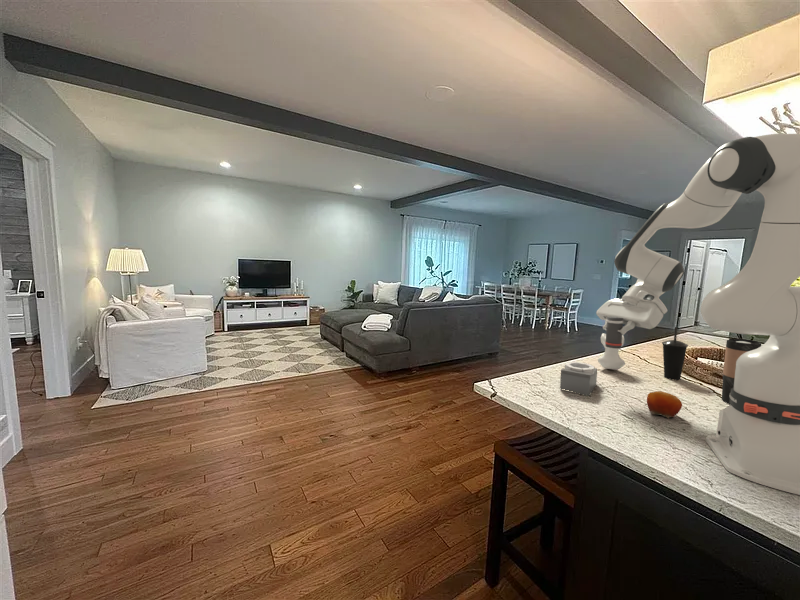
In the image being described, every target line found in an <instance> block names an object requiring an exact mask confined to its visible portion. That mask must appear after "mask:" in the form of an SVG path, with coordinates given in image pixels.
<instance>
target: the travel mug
mask: <svg viewBox="0 0 800 600" xmlns="http://www.w3.org/2000/svg"><path fill="white" fill-rule="evenodd" d="M761 346H762V342H761V341H757V340H752V339H745V338H728V339H726V344H725V353H724V361H723V371H722V386H721V400H723V401H722V402H724V403H726V402H727V403H726V404H728V403H729V401H730V397H729V395H730V393H731V389H732V388H734V379H735V369H736V361H737V359H738V358H739V357H740V356H741V355H742V354H744V353H746V352H748V351H751V350H754V349H757V348H759V347H761Z"/></svg>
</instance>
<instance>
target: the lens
mask: <svg viewBox="0 0 800 600" xmlns="http://www.w3.org/2000/svg"><path fill="white" fill-rule="evenodd" d="M623 325H624V324H623V318H619V317H607V329H606V330H605V331H606V332H605V334H606V341H605V344H606V347H609V348H620V349H622V346H621V345H622V335H623V334H619V332H618V329H619V328H620V327H624V326H623Z"/></svg>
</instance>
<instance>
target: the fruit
mask: <svg viewBox="0 0 800 600" xmlns="http://www.w3.org/2000/svg"><path fill="white" fill-rule="evenodd" d="M646 406H647V407H648V411H649V412H650V413H651V414H652V416H655V415H658V416H659V415H660V416H663V417H665V418H667V419H668V420H670V418H674V417H675V416H677V415H678V413H679V412H680V411H681V410H682V408H683V404H682V401H681V399H680V398H679V397H677V396H676V395H674V394H671V393H669V392H665V391H662V390H657V391H652V392H649V393H648V394H647V396H646Z"/></svg>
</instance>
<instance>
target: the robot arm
mask: <svg viewBox="0 0 800 600" xmlns="http://www.w3.org/2000/svg"><path fill="white" fill-rule="evenodd" d="M754 191H755V192H756V191H757V192H758V193H760V194H761V195H762V196H763V198H764V206H763V207H764V208H763V212H762V215H761V218H760V223H759V228H758V232H757V236H756V239H755V242H754V245H753V248H752V252H751V255H750V257H749V259H748V261H746V264H745V265H744V266H743V267H742V269H741V270H740V271H739V272H738V273H737V274H736V275H734V276H733V277H732V279H730V280H729V281H727V282H726V283H724V284H723V285H720V286H718V287H717V288H714V289H712V290H710V291H709V292H708V293H707V294H706V295H705V297H703V300H702V302H701V305H700V314H701V316H702V318H703V320H704V322H705V324H707V325H708V326H709V327H710V328H711V329H714V330H718V331H723V332H727V333H733V334H738V335H754V336H756V335H757V336H769V338H768V339H767V340H766V342H764V343H763V344H761V347H759V348H757V349H754V350H751V351H748V352H746V353H744V354H742V355H741V356H740V357H739V358H738V359H737V361H736V369H735V379H734V388H732V389H731V393H730V395H729V397H730V401H729V403H730V404H728V406H727V407H725V408H723V409H721V410H719V414H718V419H717V420H718V421H717V429H716V434H715V435H707V436H706V437H705V442H706V443H707V445H708V446H709V447H710V449H711V451H713V453H714V454H715V456H716V457H717V459H718V460H719V461H720V463H721V464H722V465H723V467H724V468H725V470H726V471H727V472H729V473H731V474H733V475H735V476H738V477H741V478H743V479H745V480H748V481H751V482H753V483H757V484H760V485H762V486H764V487H765V486H766V487H769V488H772V489H776V490H778V491H779V490H780V491H782V492H787V493H790V494H794V495H798V496H800V286H792V285H793V283H794V282H795V281H797V279H799V278H800V133H783V132H781V133H771V134H763V135H757V136H746V137H741V138H737V139H734V140H731V141H728V142H726V143H724V144H723V145H721V146H719V148H717V149H716V151H714V153H713V154H712V155H711V157H709V158H708V159H707V160H706V161H705V163H704V164H703V165H702V166H701V167H700V168H699V169H698V171H697V172H696V173H695V175H694V176H693V177H692V179H691V180H690V181H689V182H688V184H687V186H686V188H685V190H684V191H683V192H682V194H681V195H680V196H679V197H677V198H676V199H675V200H673V201H671V202H664V203H663V204H662V205H660V206H659V207H658V208H657V209H656V210H655V211H654V212H653V213H652V215H650V216H649V217H648V219H647V220H646V221H645V222H644V223H643V225H641V227H640V228H639V229H638V230H637V232H635V235H633V237H632V238H631V239H630V240H629V241H628V243H627V244H625V245H624V246H623V247H622V248H621V249H620V250H619V251H618V252H617V254H616V255H615V258H614V260H613V261H614V265H615V268H616V269H617V271H618V272H620V273H623V274H626V275H630V276H631V277H634V278H635V279H637V280H636V282H635V284H632V286H630V287H629V288H628V290H627V291H626V292H625V293H624V294H623V295H622V296H621V298H613V299H609V300H607V301H606V302H604V303H603V304H601V306H600V307H599V308H598V309H597V310H596V313H595V314H596V316H597V317H598V318H599V319H600V320H602V321H604V325H602V329H603V330H604V331H606V329H607V317H619V318H623V325H624V326H623V327H620V328H619V329H618V332H619V334H622V335H623V336H624V335H625V334H626V333H627V332H628V331H631V330H633V329H635V327H637V328H641V329H642V328H643V329H647V330H652V329H654V328H657V326H658V325H659V324H660V322H661V321H662V320H663V318H664V315H665V314H667V312H668V309H667V307H666V305H665V303H663V301H662V300H661V299H660V297H661V296H662V295H663V294H665V293H666V292H669V291H672V290H673V289H674V287H675V286H676V285H677V283H679V281H680V280H681V279H682V278H683V276H684V274H685V269H684V266H683V263H682V262H680V261H679V260H677V259H675V258H672V257H669V256H667V255H665V254H663V253H662V254H661V253H660V252H657V251H655V250H652V249H649V248H648V247H646V244H647V242H648V241H649V240H650V239H651V238H652V237H653V236H654V235H655V234H656V232H657V231H659V230H661V229H669V228H670V229H671V228H675V229H676V228H677V229H700V228H704V227H708V226H712V225H714V224H716V223H718V222H720V221H721V220H722V219H723V218H724V217H725V216H726V215H727V214H728V213H729V212H730V210H732V208H733V207H734V205H735V204H736V203H737V201H738V199H739V198H740V197H741V195H742V194H745V195H747V194H751V193H754Z"/></svg>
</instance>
